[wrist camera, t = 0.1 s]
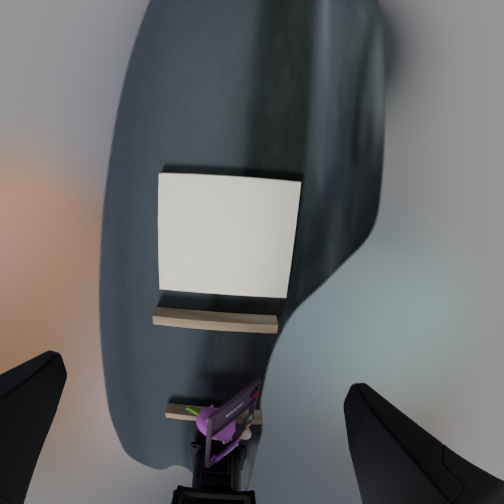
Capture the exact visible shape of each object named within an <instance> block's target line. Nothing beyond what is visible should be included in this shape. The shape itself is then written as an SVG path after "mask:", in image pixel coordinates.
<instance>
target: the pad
mask: <svg viewBox="0 0 504 504" xmlns="http://www.w3.org/2000/svg"><path fill="white" fill-rule="evenodd" d="M300 189H301V182H299V181H289V180H279V179H269V178H257V177H244V176H230V175H213V174H192V173H159V188H158V256H159V283H160V289H163V290H174V291H186V292H198V293H211V294H225V295H240V296H257V297H275V298H286V296H287V289H288V282H289V275H290V268H291V261H292V254H293V246H294V239H295V231H296V223H297V215H298V206H299V198H300Z"/></svg>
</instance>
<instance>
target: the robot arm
mask: <svg viewBox="0 0 504 504" xmlns="http://www.w3.org/2000/svg"><path fill="white" fill-rule="evenodd" d="M66 378H67V372H66V369H65V366H64V363H63V359H62V356H61V355H60V354H59V353H58V352H54V351H47V352H44V353H43V354H41V355H39V356H37V357H34V358H33V359H30V360H29V361H26V362H25V363H23V364H21V365H19V366H17V367H15V368H12V369H10V370H8V371H6V372H5V373H2V374H1V375H0V504H24V501H25V497H26V493H27V490H28V487H29V484H30V481H31V478H32V475H33V472H34V469H35V466H36V463H37V460H38V458H39V455H40V452H41V449H42V447H43V444H44V441H45V439H46V436H47V434H48V431H49V429H50V426H51V424H52V421H53V419H54V416H55V413H56V410H57V407H58V404H59V401H60V397H61V394H62V391H63V388H64V385H65V381H66ZM344 415H345V422H346V429H347V436H348V444H349V449H350V454H351V458H352V462H353V466H354V470H355V474H356V477H357V482H358V486H359V490H360V494H361V499H362V503H363V504H504V481H503V480H501V479H498V478H496V477H495V476H493V475H491V474H489V473H487V472H486V471H484V470H482V469H480V468H479V467H477V466H475V465H473V464H472V463H470V462H469V461H467V460H465V459H464V458H462V457H461V456H459V455H458V454H456V453H455V452H454V451H452V450H451V449H449V448H448V447H447V446H445V445H444V444H442V443H441V442H440V441H439V440H437V439H436V438H435V437H433V436H432V435H431V434H429V433H428V432H427V431H426V430H424V429H423V428H422V427H420V426H419V425H418V424H416V423H415V422H414V421H413V420H411V419H410V418H408V417H407V416H406V415H405V414H403V413H402V412H401V411H400V410H398V409H397V408H396V407H395V406H393V405H392V404H391V403H390V402H388V401H387V400H386V399H384V398H383V397H382V396H381V395H379V394H378V393H377V392H376V391H374V390H373V389H372V388H371V387H370V386H368V385H367V384H365V383H356V384H353V385H352V386H351V387H350V390H349V392H348V394H347V396H346V399H345V401H344ZM227 446H228V445H227V444H212V443H211V451H210V459H211V458H212V457H213V456H214V455H215V456H216V455H218V454H219V453H220V452H221V451H222V450H224V449H225V448H226V447H227ZM205 450H206V443H201V442H191V454H192V461H193V467H194V470H193V480H192V488H191V487H183V486H180V485H178V487H177V489H176V490H174V491H173V498H172V503H171V504H256V502H255V492H254V490H250V491H241V471H242V470H243V464H244V457H245V450H246V447H245V446H244V445H238V446H236V447H235V448H234V449H232V450H231V451H230V452H229V453H228V454H227V455H226V456H224V457H223V458H222V459H220V460H219V461H217V462H215V463H214V464H213V465H211V466H210V467H209V468H207V467H205Z"/></svg>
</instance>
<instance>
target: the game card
mask: <svg viewBox="0 0 504 504" xmlns="http://www.w3.org/2000/svg"><path fill="white" fill-rule="evenodd" d="M261 381H262V380H260V379H259V378H257V379H256V380H254V381H253V382H252V383H251V384H249V385H248V386H247V387H246V388H244V389H243V390H242V391H241V392H239V393H238V394H237V395H235V396H234V397H233V398H232V399H230V400H229V401H228V402H226V403H225V404H224V405H222V406H221V407H220V408H218V409H217V410H216V409H214V406H213V404H211V406H210V407H205V408H202V409H201V410H198V409H195V408H193V407H190V406H187V407H186V408H187V409H186V410H189V411H190V412H193V414H196V415H197V417H196V424H197V427H198V429H199V430H200V431H201V432H202V433H203V434H204V435H205V436H206V450H205V467H207V468H209V467H210V466H211V465H213V464H214V463H215V462H217V461H219V460H220V459H222V458H223V457H224V456H226V455H227V454H228V453H229V452H230V451H231V450H232V449H234V448H235V447H236V446H238V445H239V444H238V443H239V442H240V441H241V440H242V439H244V440H247V439H249V438H250V437H251V431H250V427H251V421H252V420H251V419H252V418H253V415H254V410H255V406H256V402H257V398H258V394H259V389H260V385H261ZM248 408H250V409H249V414H248V416H247V417H246V418H245V422H244V423H246V424H245V425H244V426H243V433H242V434H241V435H240V436H239V437H238V438H237V439H236V440H234V441H233V442H232V443H231V444H230V445H228V446H227V447H226V448H225V449H224V450H222V451H221V452H220V453H219V454H218V455H216V456H215V455H214V456H213V457H212V458H211V459H210V451H211V440H212V439H213V440H219V441H222V442H223V444H225V443H228V442H229V441H230V440H231V441H232V438H233V437H232V436H234V434H235V430H236V425H235V421H234V420H235V419H237V418H238V417H239V416H240V415H241V414H243V413H244V412H245V411H246V410H247V409H248ZM190 412H189V413H190ZM231 437H232V438H231ZM226 440H227V441H226ZM225 441H226V442H225Z"/></svg>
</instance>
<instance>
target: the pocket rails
mask: <svg viewBox="0 0 504 504" xmlns="http://www.w3.org/2000/svg"><path fill="white" fill-rule="evenodd" d="M153 324H156V325H165V326H175V327H185V328H196V329H208V330H221V331H237V332H255V333H277V329H278V322H277V317H276V315H257V314H240V313H224V312H211V311H198V310H186V309H175V308H165V307H157V308H156V310H155V312H154V314H153ZM187 406H190V407H193V408H195V409H198V410H201V409H202V408H205V407H201V406H191V405H182V404H174V403H168V404H167V408H166V412H165V413H166V417H168V418H176V419H184V420H193V421H196V417H197V415H196V414H193V412H190V411H189V410H186V409H187V408H186V407H187ZM214 409H216V410H217V409H218V408H214ZM189 412H190V413H189ZM248 414H249V409H247V410H246V411H245V412H244V413H243V414H241V415H240V416H239V417H238V418H237V419H235V420H234V421H235V424H246V423H244V422H245V418H246V417H247V416H248ZM251 420H252V421H251V424H261V423H262V412H261V410H254V415H253V418H252V419H251Z"/></svg>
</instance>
